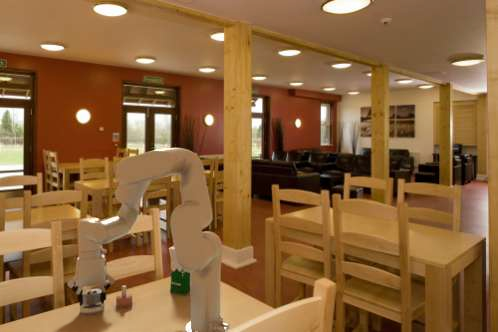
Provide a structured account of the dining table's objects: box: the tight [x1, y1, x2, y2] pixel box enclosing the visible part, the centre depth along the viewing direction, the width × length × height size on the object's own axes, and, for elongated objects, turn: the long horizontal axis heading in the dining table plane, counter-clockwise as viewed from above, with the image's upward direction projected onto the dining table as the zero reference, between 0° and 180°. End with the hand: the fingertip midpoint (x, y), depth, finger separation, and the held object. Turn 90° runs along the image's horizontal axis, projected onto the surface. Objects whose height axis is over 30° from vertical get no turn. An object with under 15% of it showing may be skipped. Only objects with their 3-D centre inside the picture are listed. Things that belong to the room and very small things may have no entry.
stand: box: [115, 285, 133, 309], centre depth 136 cm, size 6×6×7 cm
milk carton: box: [168, 245, 190, 296], centre depth 148 cm, size 9×9×20 cm
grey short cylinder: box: [82, 288, 102, 305], centre depth 132 cm, size 6×6×3 cm
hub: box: [79, 290, 105, 317], centre depth 132 cm, size 8×8×7 cm
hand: (92, 302), depth 132 cm, fingers closed on grey short cylinder, 6 cm apart
